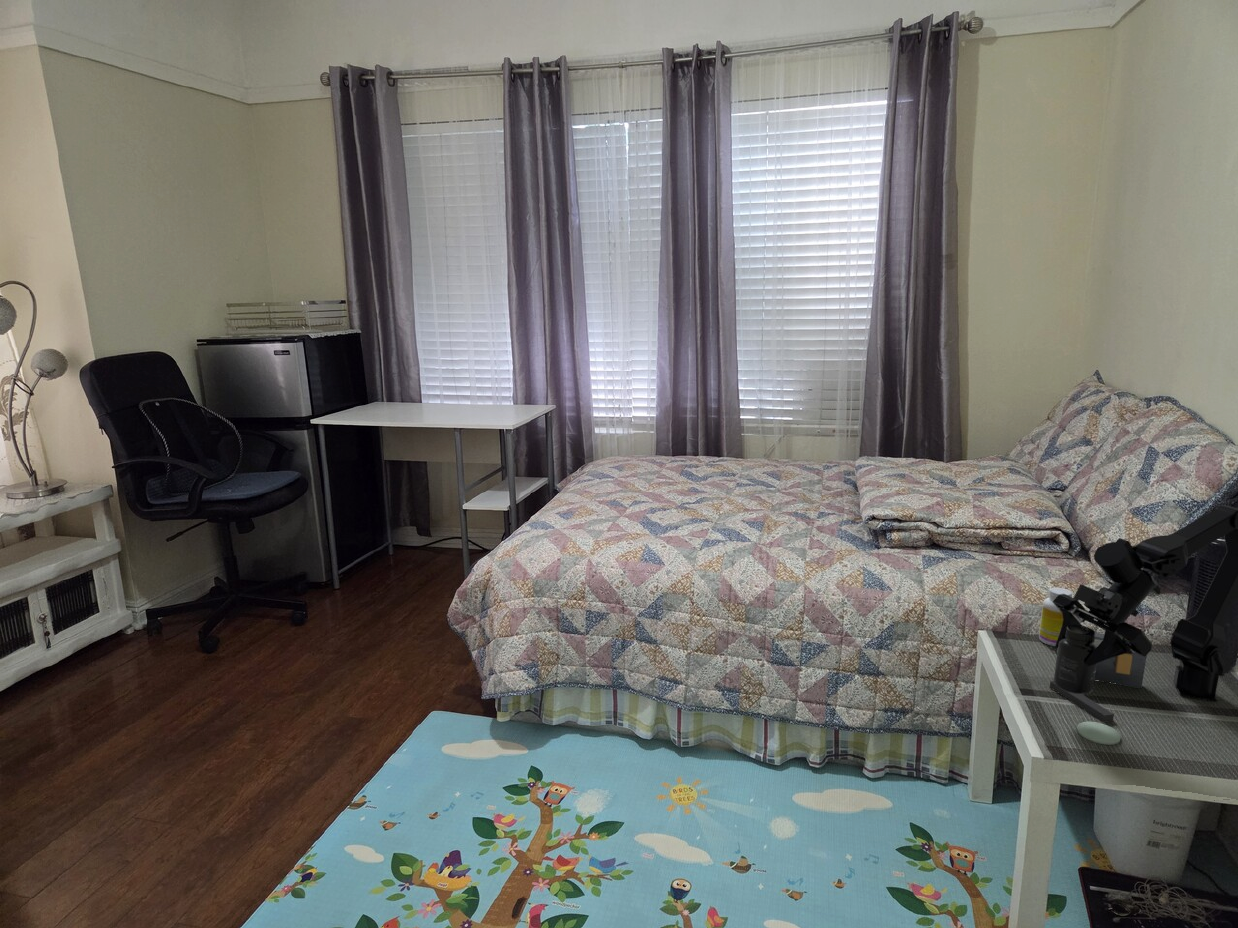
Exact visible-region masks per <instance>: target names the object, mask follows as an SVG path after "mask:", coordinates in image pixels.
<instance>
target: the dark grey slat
mask: <svg viewBox="0 0 1238 928" xmlns="http://www.w3.org/2000/svg"><path fill="white" fill-rule="evenodd" d="M1049 688H1050V689H1051V688H1052V689H1051V690H1053V689H1054V690H1055V692H1056V691H1057V692H1059V693H1060V694H1062V695H1063V696H1062V695H1061V696H1062V697H1064V698H1065V697H1066V698H1065V699H1067V698H1068V699H1069V700H1068V699H1067V700H1068V701H1070V702H1071V701H1072V703H1073V704H1074V703H1075V704H1074V705H1076V706H1077V707H1079V708H1081V709H1082V708H1083V710H1084V709H1085V710H1086V711H1085V710H1084V711H1085V712H1087V713H1088V712H1089V714H1090V715H1092V716H1093V717H1095V718H1096V719H1098V720H1099V721H1101V722H1103V723H1107V722H1114V718H1115V714H1114V713H1113V712H1111V711H1110V710H1108V709H1106V708H1105V707H1104V706H1102V705H1100V704H1099V703H1097V702H1095V701H1094V700H1092V699H1090V698H1089V697H1087V696H1085V694H1075V693H1071V692H1067V691H1065V690H1062V689H1061V688H1059V687H1058V686H1057V685H1056V684H1055V683H1054V680H1050V682H1049ZM1054 690H1053V691H1054ZM1057 692H1056V693H1057ZM1059 693H1058V694H1059ZM1060 694H1059V695H1060Z"/></svg>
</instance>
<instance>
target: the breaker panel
mask: <svg viewBox="0 0 1238 928" xmlns="http://www.w3.org/2000/svg"><path fill="white" fill-rule="evenodd" d="M1060 631H1061V627H1060ZM1104 634H1105V633H1100V632H1095V641H1094V644H1095V645H1096V646H1098V645H1099V644H1100V643H1101V642H1102V641H1103V638H1104ZM1056 649H1057V648H1056ZM1131 651H1132V650H1131ZM1057 652H1058V649H1057V650H1056V653H1057ZM1132 652H1133V653H1132V654H1131V655H1132V663H1131V669H1130V675H1129V674H1123V673H1117V672H1116V670H1115V668H1116V662H1117V656H1115V657H1112V658H1109V659H1106V660H1104V661H1101V662H1099V663H1097V667H1096V674H1095V680H1099V681H1104V682H1103V683H1105V682H1111V683H1116V684H1121V685H1120V686H1122V685H1124V686H1125V687H1130V688H1134V689H1142V687H1143V681H1144V673H1145V669H1146V662H1147V656H1148V654H1147V655H1146V656H1145V657H1144V656H1142V655H1140V654H1138V653H1136V652H1134V651H1132ZM1127 654H1129V653H1127ZM1055 658H1056V659H1057V655H1056V657H1055ZM1056 659H1055V660H1056ZM1055 667H1056V662H1055V665H1054V668H1055ZM1099 681H1098V682H1099ZM1111 683H1110V684H1111ZM1116 684H1115V685H1116ZM1124 686H1123V687H1124Z"/></svg>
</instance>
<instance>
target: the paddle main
mask: <svg viewBox="0 0 1238 928" xmlns="http://www.w3.org/2000/svg"><path fill="white" fill-rule="evenodd" d="M1131 663H1132V655H1131V654H1127V653H1126V654H1122V655H1119V656H1117V662H1116V668H1115V670H1116V672H1117V673H1123V674H1129V675H1130V669H1131Z"/></svg>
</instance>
